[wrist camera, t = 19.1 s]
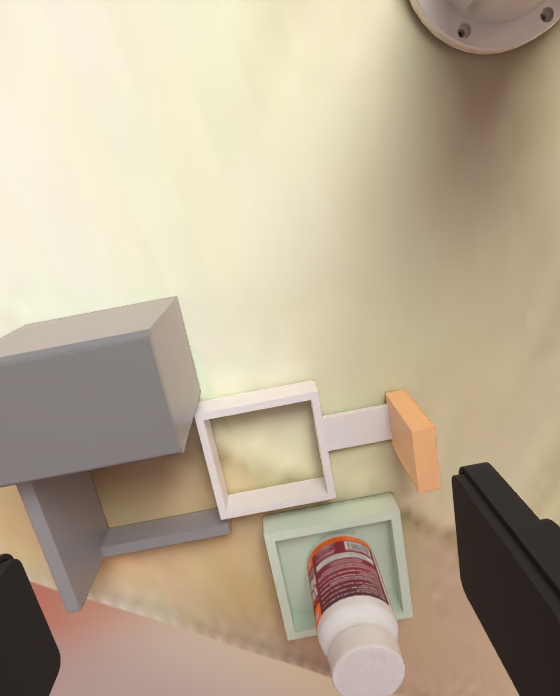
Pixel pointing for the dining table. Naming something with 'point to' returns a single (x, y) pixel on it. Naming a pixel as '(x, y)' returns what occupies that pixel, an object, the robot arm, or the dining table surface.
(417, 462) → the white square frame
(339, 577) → the pill bottle
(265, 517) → the tray
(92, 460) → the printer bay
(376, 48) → the dining table surface
